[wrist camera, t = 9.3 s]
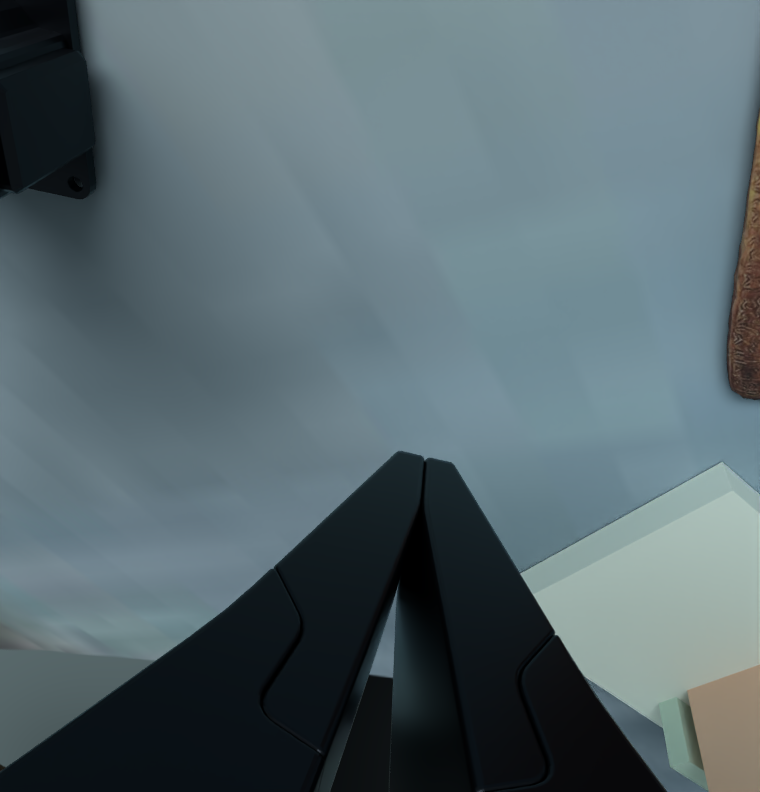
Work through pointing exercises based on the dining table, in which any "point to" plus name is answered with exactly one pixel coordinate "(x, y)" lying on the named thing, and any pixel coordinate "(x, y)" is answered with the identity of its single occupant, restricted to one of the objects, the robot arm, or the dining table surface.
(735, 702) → the beige cardboard box
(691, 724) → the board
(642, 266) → the dining table surface
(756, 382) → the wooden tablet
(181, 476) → the dining table surface
